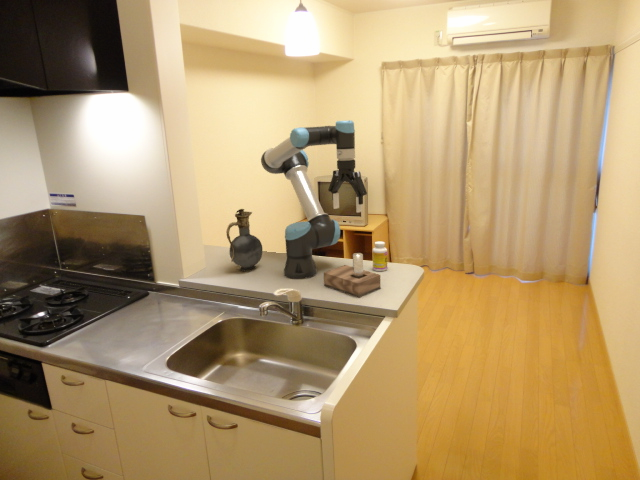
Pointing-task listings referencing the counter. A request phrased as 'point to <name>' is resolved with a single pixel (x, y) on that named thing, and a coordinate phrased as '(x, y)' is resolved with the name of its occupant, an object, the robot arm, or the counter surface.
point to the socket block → (351, 281)
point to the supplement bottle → (379, 256)
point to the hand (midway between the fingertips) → (347, 210)
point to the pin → (358, 265)
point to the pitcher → (244, 243)
